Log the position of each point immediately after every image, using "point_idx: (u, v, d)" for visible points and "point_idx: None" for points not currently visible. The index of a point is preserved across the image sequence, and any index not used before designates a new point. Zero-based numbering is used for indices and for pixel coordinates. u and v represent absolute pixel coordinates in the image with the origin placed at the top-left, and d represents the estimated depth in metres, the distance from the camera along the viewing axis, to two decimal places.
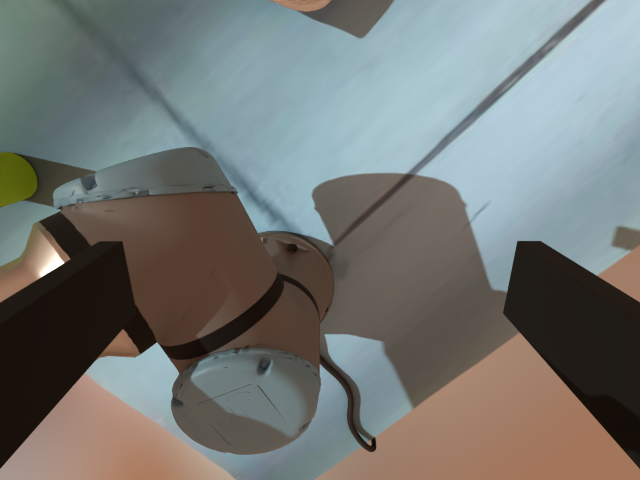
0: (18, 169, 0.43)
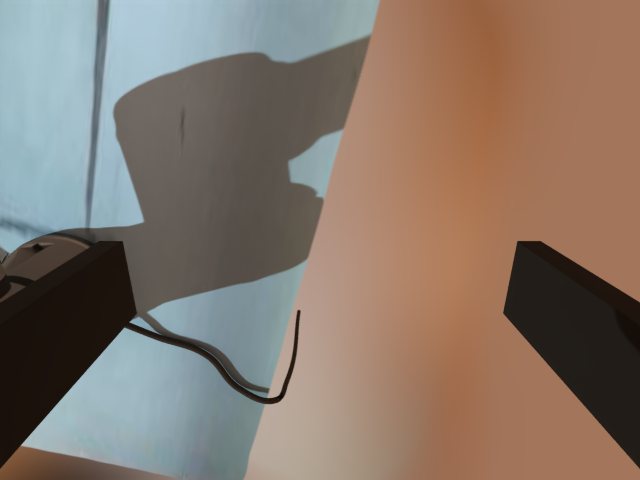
0: None
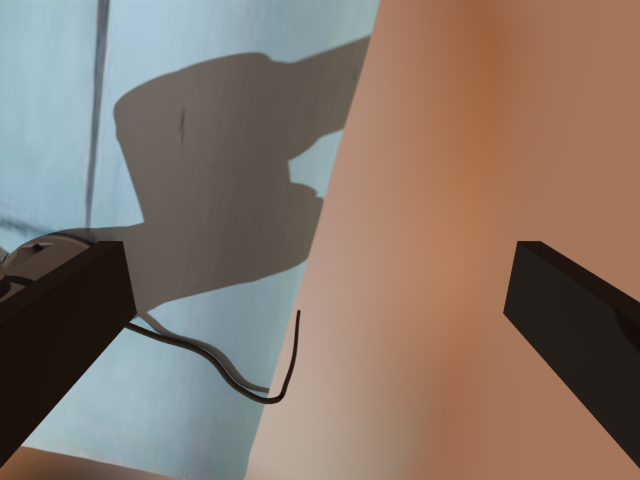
0: None
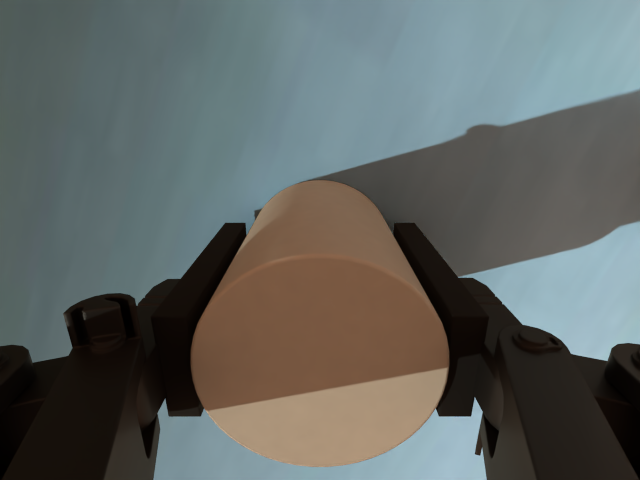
0: None
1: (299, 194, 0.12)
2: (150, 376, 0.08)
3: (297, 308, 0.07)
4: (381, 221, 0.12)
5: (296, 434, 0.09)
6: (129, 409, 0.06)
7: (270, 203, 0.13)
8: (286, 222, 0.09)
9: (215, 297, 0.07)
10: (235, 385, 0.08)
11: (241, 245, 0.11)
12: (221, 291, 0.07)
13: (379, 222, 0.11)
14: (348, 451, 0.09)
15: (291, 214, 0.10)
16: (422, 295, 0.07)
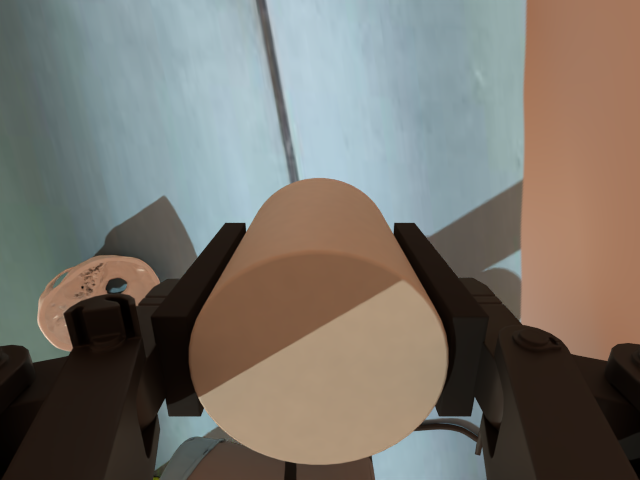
0: None
1: (298, 192, 0.12)
2: (150, 376, 0.08)
3: (295, 305, 0.07)
4: (380, 219, 0.11)
5: (294, 431, 0.08)
6: (129, 409, 0.06)
7: (269, 201, 0.13)
8: (285, 220, 0.09)
9: (213, 294, 0.07)
10: (233, 382, 0.08)
11: (240, 243, 0.11)
12: (219, 288, 0.07)
13: (378, 220, 0.11)
14: (347, 449, 0.09)
15: (290, 212, 0.10)
16: (421, 292, 0.07)
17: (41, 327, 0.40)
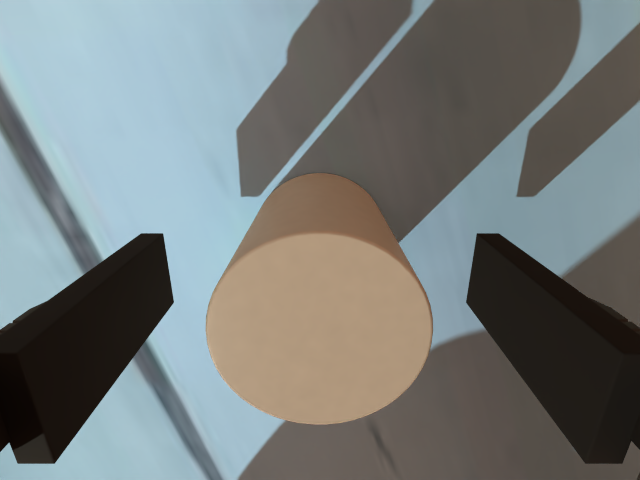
0: None
1: (300, 185, 0.13)
2: None
3: (300, 278, 0.08)
4: (375, 209, 0.13)
5: (298, 393, 0.10)
6: None
7: (273, 194, 0.14)
8: (289, 208, 0.10)
9: (228, 269, 0.08)
10: (245, 348, 0.09)
11: (248, 230, 0.12)
12: (233, 264, 0.08)
13: (373, 209, 0.12)
14: (344, 410, 0.10)
15: (294, 202, 0.11)
16: (408, 267, 0.08)
17: None
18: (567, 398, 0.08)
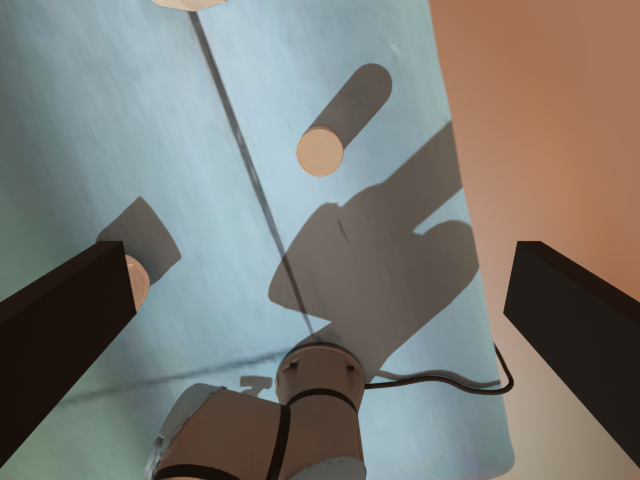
0: None
1: (314, 126, 0.48)
2: None
3: (316, 139, 0.43)
4: (334, 132, 0.47)
5: (315, 167, 0.44)
6: None
7: None
8: (313, 128, 0.45)
9: (302, 137, 0.43)
10: (304, 155, 0.44)
11: None
12: (303, 136, 0.43)
13: (333, 132, 0.47)
14: (325, 172, 0.44)
15: (313, 128, 0.46)
16: (337, 136, 0.43)
17: None
18: None
